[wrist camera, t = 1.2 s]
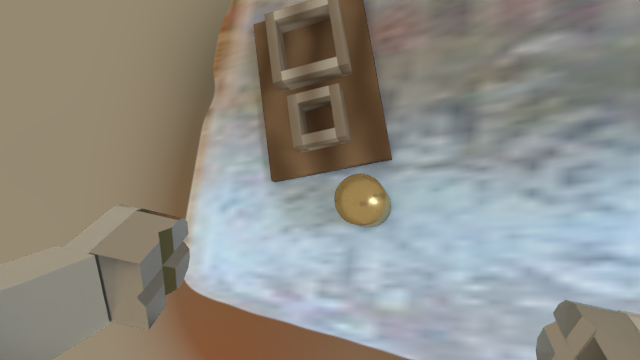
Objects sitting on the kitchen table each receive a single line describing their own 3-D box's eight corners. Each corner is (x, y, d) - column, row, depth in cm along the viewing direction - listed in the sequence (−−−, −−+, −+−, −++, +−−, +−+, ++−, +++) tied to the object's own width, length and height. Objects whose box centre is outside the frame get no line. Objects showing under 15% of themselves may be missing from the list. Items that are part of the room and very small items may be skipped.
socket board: (362, -3, 48) (357, -25, 44) (392, 159, 44) (389, 151, 40) (257, 29, 52) (243, 11, 48) (275, 182, 47) (261, 177, 43)
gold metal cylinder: (387, 181, 44) (380, 169, 36) (394, 223, 43) (389, 220, 35) (346, 189, 45) (331, 179, 37) (352, 229, 44) (338, 228, 36)
